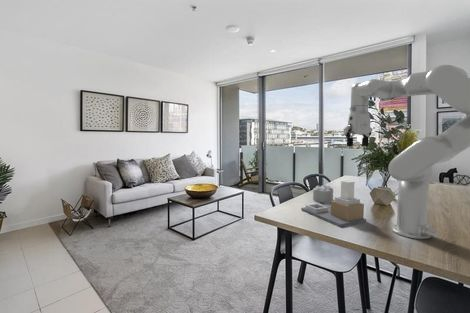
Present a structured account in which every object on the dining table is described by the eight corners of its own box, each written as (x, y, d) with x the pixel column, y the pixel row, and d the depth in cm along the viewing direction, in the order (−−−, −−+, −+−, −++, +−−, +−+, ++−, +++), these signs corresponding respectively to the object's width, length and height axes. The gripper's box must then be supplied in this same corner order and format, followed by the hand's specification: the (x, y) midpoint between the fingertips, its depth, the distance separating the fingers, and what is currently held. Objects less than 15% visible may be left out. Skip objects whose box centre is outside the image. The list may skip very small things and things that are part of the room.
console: (366, 221, 108) (367, 200, 108) (340, 227, 102) (340, 204, 101) (324, 206, 132) (324, 189, 131) (301, 210, 126) (301, 191, 125)
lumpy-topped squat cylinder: (310, 200, 145) (311, 186, 145) (320, 196, 154) (320, 183, 154) (327, 203, 138) (327, 189, 137) (336, 199, 147) (336, 185, 146)
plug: (353, 202, 111) (354, 181, 110) (347, 203, 109) (348, 182, 108) (345, 200, 115) (346, 180, 114) (339, 201, 114) (339, 180, 113)
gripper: (351, 108, 106) (350, 146, 107) (379, 110, 112) (377, 146, 113) (338, 110, 113) (337, 146, 114) (365, 111, 119) (364, 145, 120)
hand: (357, 146), depth 114 cm, fingers open, 9 cm apart
